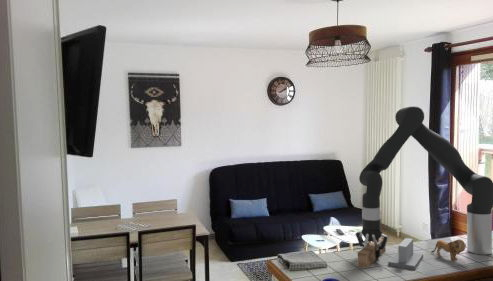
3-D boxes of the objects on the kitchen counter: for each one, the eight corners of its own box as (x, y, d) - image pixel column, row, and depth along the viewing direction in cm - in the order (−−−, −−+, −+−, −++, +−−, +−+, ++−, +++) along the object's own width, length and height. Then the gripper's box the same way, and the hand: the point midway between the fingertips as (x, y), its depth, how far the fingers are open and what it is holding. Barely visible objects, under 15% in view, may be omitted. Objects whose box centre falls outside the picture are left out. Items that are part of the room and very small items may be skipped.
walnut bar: (377, 250, 178) (377, 237, 178) (385, 251, 176) (385, 238, 176) (358, 267, 159) (357, 252, 159) (366, 268, 157) (366, 254, 156)
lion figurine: (468, 261, 160) (468, 239, 159) (461, 264, 157) (461, 242, 157) (434, 252, 172) (433, 231, 172) (427, 254, 169) (426, 234, 169)
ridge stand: (398, 253, 172) (398, 235, 171) (423, 257, 166) (422, 238, 166) (388, 265, 159) (388, 245, 158) (414, 269, 153) (414, 249, 153)
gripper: (391, 217, 166) (391, 257, 166) (358, 213, 174) (359, 252, 175) (386, 221, 159) (386, 263, 160) (352, 217, 168) (353, 257, 168)
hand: (372, 257), depth 167 cm, fingers closed on walnut bar, 3 cm apart
